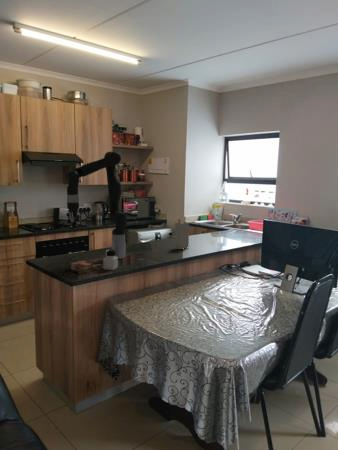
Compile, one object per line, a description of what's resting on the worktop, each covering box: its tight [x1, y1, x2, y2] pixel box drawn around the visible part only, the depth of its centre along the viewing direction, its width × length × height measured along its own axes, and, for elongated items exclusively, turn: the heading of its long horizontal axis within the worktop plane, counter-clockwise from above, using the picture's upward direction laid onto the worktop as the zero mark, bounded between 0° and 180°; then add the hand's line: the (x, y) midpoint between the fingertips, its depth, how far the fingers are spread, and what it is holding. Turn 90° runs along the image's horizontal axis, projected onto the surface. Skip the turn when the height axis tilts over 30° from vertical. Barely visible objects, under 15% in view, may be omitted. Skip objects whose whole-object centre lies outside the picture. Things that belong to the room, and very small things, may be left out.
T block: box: [70, 259, 91, 271], centre depth 225 cm, size 10×11×4 cm
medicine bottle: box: [102, 249, 119, 271], centre depth 228 cm, size 7×7×12 cm
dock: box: [75, 262, 103, 275], centre depth 223 cm, size 17×8×3 cm, turn 143°
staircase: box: [172, 219, 190, 250], centre depth 292 cm, size 8×12×26 cm
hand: (73, 227), depth 234 cm, fingers closed
